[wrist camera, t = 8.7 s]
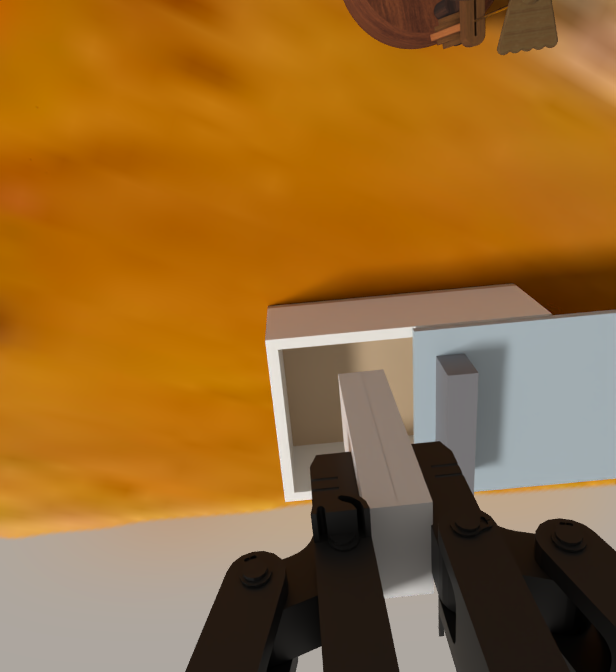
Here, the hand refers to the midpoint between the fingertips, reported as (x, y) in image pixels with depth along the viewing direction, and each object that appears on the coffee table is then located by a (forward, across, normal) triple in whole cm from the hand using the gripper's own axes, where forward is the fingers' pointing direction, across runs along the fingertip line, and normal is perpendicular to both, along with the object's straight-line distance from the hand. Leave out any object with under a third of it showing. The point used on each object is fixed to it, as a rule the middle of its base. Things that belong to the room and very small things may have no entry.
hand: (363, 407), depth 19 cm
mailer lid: (+19, +16, -13) cm, 28 cm away
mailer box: (+26, +5, -12) cm, 30 cm away
